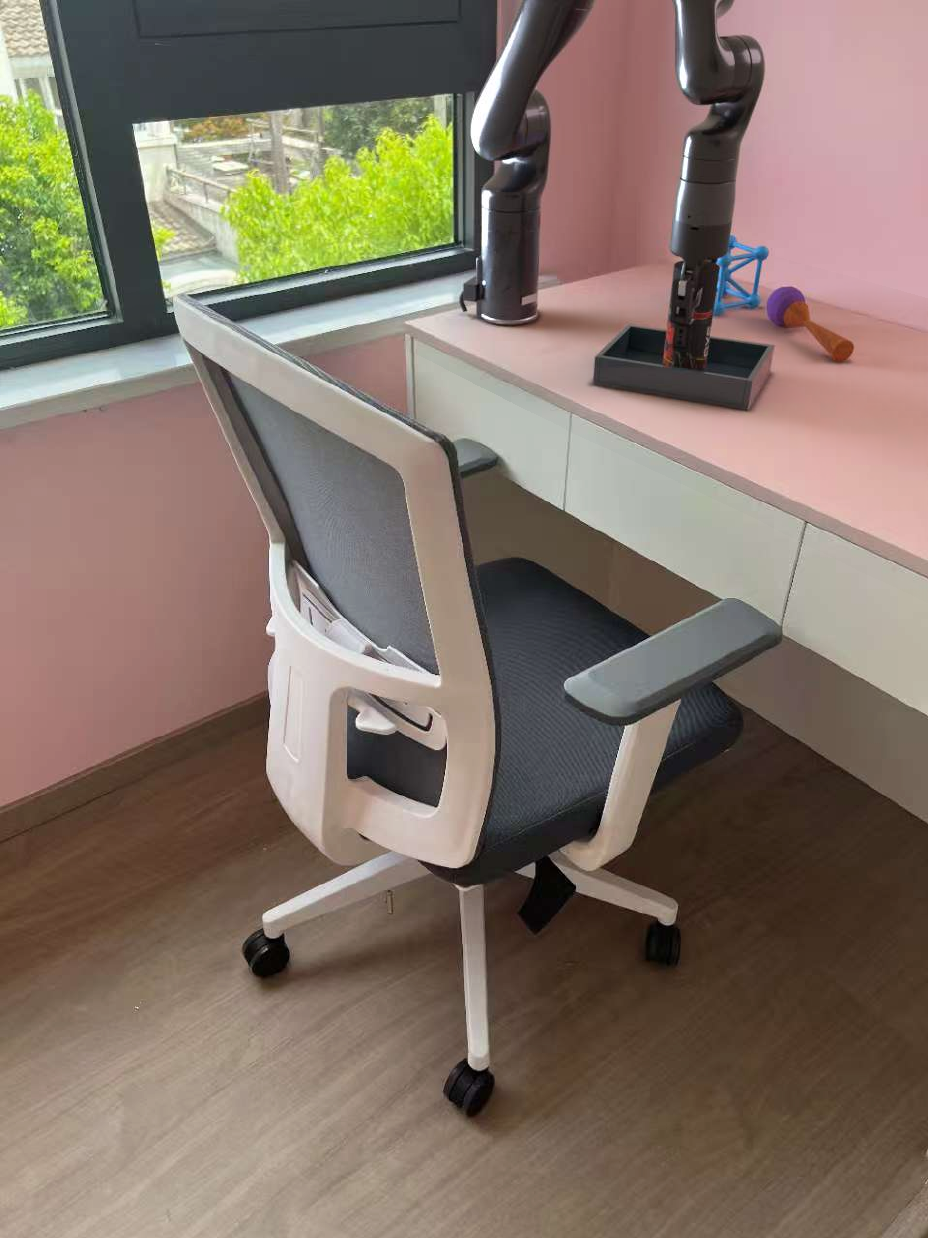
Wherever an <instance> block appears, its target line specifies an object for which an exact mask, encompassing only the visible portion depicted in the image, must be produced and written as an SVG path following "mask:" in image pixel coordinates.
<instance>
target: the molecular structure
mask: <svg viewBox="0 0 928 1238" xmlns="http://www.w3.org/2000/svg"><path fill="white" fill-rule="evenodd" d="M735 248H737V249H740V250H743V251H746V252H747V253H742V254H736V255H731V252H732V250H734V249H735ZM769 253H770V251H769V248H768V247H767V246H765V245H759V246H757V247H756V248H755V247H751V246H749V245H746V244H743V243H740V242H738V239H737V237H736V236H735V235H733V234H730V240H729V247H728V252H727V254H726V255H725V256H723V257H721V258H718V261H717V263H716V264H717V265H719V267H720V270H719V277H718V284H717V291H716V299H715V305H714V312H713V316H721V315H722V314H724V313H725V310H726V309H732V308H737V307H741V306H747V307H748V308H750V309H755V308H758V307H759V306H760V305H761V301H762V298H761V296H760V295H759V294H758V292H759V291H758V290H759V286H760V285H759V283H760V280H761V279H760V278H761V273H762V266H763V262H764V261H765V260H766V259H768V257H769V256H770V255H769ZM740 260H743V261H741V262H739V263H738V264H735V265H734V266H732V267H730V268H729V266H731V263H732V262H735V261H740ZM755 260H756V261H757V262H756V270H755V275H754V281H753V288H752V293H749V292H748V291H747V290H745V288H743V287H742V286H741V285H740V284H738V283H737V282H736V281H735V280H734V279H733V278H731V277H732V273H734V272H736V271H738V270H739V269H741V268H743V267H745V266H746V265H748V264H750V263H752V262H753V261H755ZM731 286H732V287H733V288H734V289H732V288H731ZM735 289H736V290H735ZM728 294H730V295H731V296H734V297H737V298H739V299H741V300H740V301H739V300H738V301H735V302H734V301H733V302H729V303H724V302H723V301H722V298H723V296H727V295H728Z"/></svg>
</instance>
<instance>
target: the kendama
mask: <svg viewBox="0 0 928 1238" xmlns="http://www.w3.org/2000/svg"><path fill="white" fill-rule="evenodd" d="M765 310H766V315H767V318H768V319H769V320H770V321H771V322H772V323H773V324H775V325H777V326H780V327H788V328H804V327H805V328H806V330H808V331H809V333H810V334H811V335H812V336H813V337H814V339H815V340H816V341H817V342H818V343H819V344H820V346H821V347H822V348H823V349H824V350H825V351H826V352H827V354H829V356H830V357H831V358H832V359H833V360H834V361H835V362H837V363H843V362H845V361H846V360H848V359H849V358H851V356H852V355H853V352H854V350H855V345H854V343H853V341H851V340H849V339H847V338H845V337H844V336H841V335H840V334H838V333H836V332H834V331H832V330H830V329H827V328H826V327H824V326H822V325H821V324H818V323H816V322H815V321H812V320H811V316H810V311H809V305H808V304H807V303H806V298H805V295H804V294H803V292H802V291H801V290H799V289H798V288H796V287H794V286H792V285H791V286H780V287H778V288H776V289H775V290H773V291H772V292H771V294H770V295H769V296H768V298H767V300H766V304H765Z"/></svg>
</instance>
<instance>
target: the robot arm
mask: <svg viewBox="0 0 928 1238" xmlns="http://www.w3.org/2000/svg"><path fill="white" fill-rule="evenodd" d="M671 1H672V5H673V8H674V9H673V10H674V13H675V14H674V16H675V19H674V21H675V22H674V43H675V44H674V71H675V78H676V82H677V85H678V88H679V90H680V91H681V94H682V95H683V97H684V98H685V99H686V100H687V101H688V102H689V103H691V104H693V105H695V106H700V107H702V106H703V107H704V106H710V107H709V109H708V112H707V114H706V117H705V118H704V119H703V120H702V121H701V122H700V123H698V124H696V125H694V126H692V127H691V128H689V129H688V130H687V131H686V133H685V135H684V138H683V143H682V152H681V162H680V170H679V178H678V183H677V187H676V190H675V198H674V206H673V214H672V215H673V216H672V224H671V232H670V242H669V251H670V252H671V254H672V255H674V256H676V257H679V258H681V259H682V261H683V262H684V263H683V266H682V271H681V279H674V281H673V292H672V305H671V316H670V323H675V329H674V338H673V346H672V348H673V350H674V351H679V352H687V351H688V350H689V348H690V341H691V333H692V325H693V323H694V316H695V310H696V308H699V307H700V304H701V297H702V289H703V287H702V289H701V290H699V291H698V294H697V298H696V299H695V300H693V292H694V291H696V290H697V287H698V281H699V273H700V272H701V271H702V269H703V268H704V267H705V266H706V265H707V264H708V263H709V262H713V263H716V264H717V261H718V258H721V257H723V256H725V255H726V254H727V252H728V247H729V240H730V235H731V233H732V224H733V217H734V212H735V205H736V204H735V203H736V193H737V191H736V189H737V188H736V187H737V176H738V169H739V163H740V162H739V161H740V154H741V145H742V142H743V140H744V137H745V134H746V132H747V130H748V127H749V125H750V122H751V119H752V117H753V114H754V111H755V109H756V106H757V103H758V101H759V98H760V95H761V92H762V88H763V85H764V81H765V74H766V61H765V54H764V51H763V48H762V46H761V44H760V43H759V40H757V39H756V38H754V37H753V36H751V35H748V34H733V35H722V36H719V32H718V20H720V19H721V18H722V17H724V16H725V15H727V13H728V12H729V11H730V10H731V9H732V7H733V5H734V3H735V0H671ZM596 2H597V0H520V3H519V5H518V8H517V10H516V12H515V15H514V17H513V20H512V22H511V25H510V28H509V29H508V33H507V35H506V37H505V41H504V43H503V45H502V46H501V47H502V48H501V50H500V52H499V54H498V56H497V58H496V60H495V62H494V64H493V66H492V69H491V70H490V72H489V74H488V75H487V76H488V77H487V79H486V80H485V83H484V84H483V87H482V88H481V91H480V92H479V94H478V97H477V99H476V101H475V103H474V106H473V109H472V113H471V117H470V122H469V123H470V125H469V126H470V127H469V133H470V139H471V143H472V146H473V149H474V150H475V152H476V153H477V154H478V156H480V157H481V158H482V159H484V160H486V161H491V162H499V165H498V167H497V169H496V171H495V173H494V175H492V176H491V177H490V178H489V180H487V181H486V182H485V183H484V184H483V186H482V188H481V195H480V196H481V197H480V199H481V200H480V203H481V226H480V227H481V229H480V230H481V235H480V237H481V241H480V243H481V249H480V250H481V251H480V252H481V254H480V255H479V256H477V257H476V261H475V263H476V264H475V274H476V275H474V276H473V277H471V278H470V279H468V280H467V281H465V282H464V283H462V289H463V290H462V291H461V293H460V294H459V298H458V303H459V306H460V309H461V310H462V312H463V313H466V312H468V309H467V306H466V304H465V302H473V303H475V307H476V308H475V317H476V318H477V319H482V320H484V321H486V322H487V323H492V324H495V325H505V326H514V325H523V324H527V323H530V322H533V321H535V320H536V319H537V318H538V317H539V316H538V315H539V310H538V307H539V306H538V305H539V302H538V300H539V298H538V297H539V273H540V247H541V245H540V244H541V220H542V219H541V217H542V215H541V214H542V213H541V212H542V198H543V193H544V191H545V189H546V187H547V182H548V176H549V165H550V152H551V141H552V116H551V111H550V106H549V103H548V101H547V99H546V98H545V96H544V95H543V93H542V92H541V91H540V90H539V89H537V86H538V84H539V82H540V80H541V79H542V77H543V76H544V74H545V73H546V71H547V70H548V68H549V67H551V65H552V63H553V62H554V61H555V60H556V59H557V58H558V56H560V54H561V53H562V52H563V51H564V50H565V49H566V47H567V46H568V45H569V44H570V43H571V42H572V40H573V39H574V38H575V37H576V35H578V33H579V31H580V30H581V29H582V27H583V26H584V25H585V23H586V21H587V20H588V18H589V17H590V15H591V13H592V11H593V9H594V7H595V4H596ZM681 308H685V309H686V315H683V314H680V311H681Z"/></svg>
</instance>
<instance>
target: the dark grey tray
mask: <svg viewBox="0 0 928 1238" xmlns="http://www.w3.org/2000/svg"><path fill="white" fill-rule="evenodd" d="M666 331H667V329H665V328H657V327H650V326H644V325H636V324H625V326H624V327H623V328H622V329H621V330H620V331H619V332H618V333H617V334H616V335H615V336H614V337H613V338H611V340H610V341H608V343H607V344H606V345H604V347H603V348H602V349H601V350H600V351H599V352H598V353H597V354H596V355H595V356H594V362H593V363H594V365H593V377H592V380H593V381H592V385H593V386H599V387H605V388H611V389H618V390H622V391H628V392H634V393H641V394H646V395H652V396H658V397H663V398H664V397H665V398H670V399H676V400H681V401H682V400H683V401H688V402H695V403H700V404H706V405H710V406H718V407H723V408H730V409H734V410H735V409H736V410H742V411H748V410H749V409H750V408H751V405H752V404H753V402H754V400H755V399H756V397H757V395H758V393H759V392H760V391H761V388H762V387H763V385H764V383H765V382H766V380H767V378H768V377H769V375H770V374H771V369H772V362H773V357H774V352H775V347H776V345H774V344H768V343H762V342H754V341H747V340H741V339H734V338H726V337H720V336H714V335H713V336H712V335H710V340H709V347H708V354H707V361H706V368H705V372H703V371H697V370H691V369H684V368H678V367H672V366H665V365H663V357H664V348H665V340H666Z"/></svg>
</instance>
